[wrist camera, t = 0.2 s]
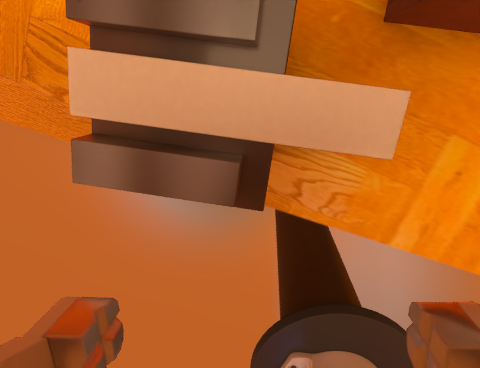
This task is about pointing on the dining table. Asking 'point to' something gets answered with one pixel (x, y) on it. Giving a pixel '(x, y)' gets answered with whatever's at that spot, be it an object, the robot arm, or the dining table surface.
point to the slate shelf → (436, 14)
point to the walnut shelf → (175, 141)
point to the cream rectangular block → (236, 103)
